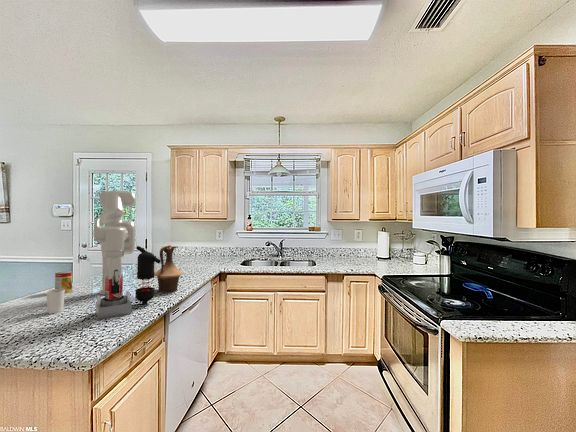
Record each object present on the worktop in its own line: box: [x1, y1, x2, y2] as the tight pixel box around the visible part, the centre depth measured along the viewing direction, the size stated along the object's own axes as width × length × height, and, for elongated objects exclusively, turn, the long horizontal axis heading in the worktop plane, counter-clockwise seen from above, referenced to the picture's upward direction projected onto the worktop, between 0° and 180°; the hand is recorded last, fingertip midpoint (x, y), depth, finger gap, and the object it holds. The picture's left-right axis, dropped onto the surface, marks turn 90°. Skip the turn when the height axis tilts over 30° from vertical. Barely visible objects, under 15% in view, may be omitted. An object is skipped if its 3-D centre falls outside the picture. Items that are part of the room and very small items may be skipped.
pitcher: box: [154, 244, 184, 293], centre depth 177 cm, size 18×17×28 cm
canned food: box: [54, 270, 73, 295], centre depth 168 cm, size 8×8×12 cm
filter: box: [135, 245, 161, 305], centre depth 149 cm, size 14×9×30 cm
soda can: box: [104, 273, 124, 300], centre depth 134 cm, size 7×7×12 cm
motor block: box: [94, 290, 133, 320], centre depth 134 cm, size 11×13×9 cm
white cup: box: [46, 288, 65, 315], centre depth 134 cm, size 7×7×10 cm
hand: (113, 291), depth 134 cm, fingers closed on soda can, 7 cm apart
